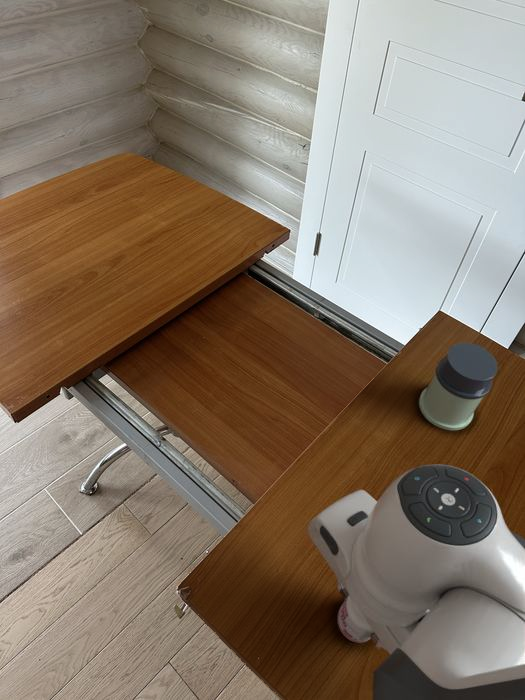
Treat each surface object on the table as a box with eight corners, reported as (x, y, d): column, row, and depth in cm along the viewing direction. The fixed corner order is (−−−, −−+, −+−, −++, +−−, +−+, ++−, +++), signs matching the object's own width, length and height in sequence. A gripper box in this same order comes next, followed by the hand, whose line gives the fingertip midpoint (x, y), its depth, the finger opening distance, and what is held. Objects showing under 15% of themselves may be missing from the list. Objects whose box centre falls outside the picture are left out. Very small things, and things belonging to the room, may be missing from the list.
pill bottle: (329, 609, 63) (342, 587, 57) (363, 594, 65) (379, 571, 58) (349, 650, 60) (365, 632, 54) (383, 633, 62) (402, 613, 56)
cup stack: (483, 416, 85) (515, 369, 76) (445, 439, 81) (474, 393, 72) (444, 379, 90) (470, 331, 81) (407, 399, 86) (430, 351, 77)
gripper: (497, 658, 46) (444, 686, 56) (352, 476, 57) (331, 528, 67) (447, 703, 43) (402, 724, 53) (306, 503, 54) (291, 553, 64)
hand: (361, 614), depth 60 cm, fingers closed on pill bottle, 5 cm apart
